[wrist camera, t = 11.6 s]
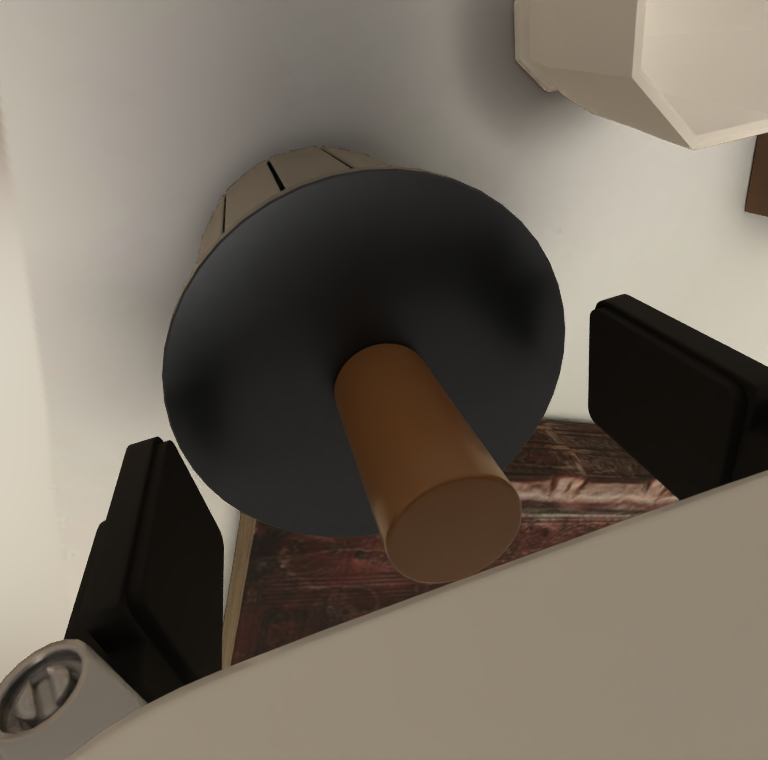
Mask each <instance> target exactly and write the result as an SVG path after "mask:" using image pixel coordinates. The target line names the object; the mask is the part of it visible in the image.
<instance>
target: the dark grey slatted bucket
mask: <svg viewBox="0 0 768 760" xmlns="http://www.w3.org/2000/svg"><path fill="white" fill-rule="evenodd" d="M378 166H392V165H389V164H387V163H385V162H383V161H381V160H379V159H376V158H374V157H371V156H369V155H367V154H362V153H356V152H352V151H348V150H345V149H338V148H330V147H325V146H322V147H316V146H315V147H311V148H303V149H297V150H292V151H289V152H286V153H282V154H279V155H276V156H274V157H271V158H269V159H268V160H266V161H263V162H262V163H260V164H258V165H257V166H255V167H254V168H252V169H251V170H249V171H248V172H247V173H245V174H244V175H243V176H242V177H241V178H240V179H239V180H238V181H236V182H235V183H234V184H233V185H232V186H231V187H230V188H229V189H228V190H227V191H226V194H225V195H223V196H222V198H221V200H220V202H219V204H218V206H217V207H216V209H215V211H214V212H213V214H212V217H211V219H210V222H209V224H208V226H207V228H206V230H205V232H204V234H203V236H202V240H201V244H200V249H199V255H198V260H197V264H198V262H199V261H200V259H201V258H202V257H203V256H204V255H205V253H206V252H207V251H208V250H209V248H210V247H211V246H212V245H213V244H214V242H215V241H216V240H217V239H218V237H219V236H221V235H222V234H223V233H224V232H225V231H226V230H227V229H228V228H229V227H230V226H231V225H233V224H234V223H235V222H236V221H237V220H238V219H239V218H240V217H241V216H242V215H244V214H245V213H247V212H248V211H250V210H251V209H253V208H254V207H256V206H257V205H259V204H260V203H261V202H263V201H264V200H266V199H267V198H269V197H271V196H273V195H275V194H277V193H279V192H281V191H283V190H285V189H287V188H289V187H291V186H293V185H295V184H297V183H299V182H302V181H305V180H309V179H312V178H315V177H318V176H321V175H324V174H327V173H331V172H336V171H341V170H347V169H352V168H358V167H378Z"/></svg>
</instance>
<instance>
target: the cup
mask: <svg viewBox="0 0 768 760" xmlns="http://www.w3.org/2000/svg"><path fill="white" fill-rule="evenodd" d="M514 29H515V60H516V61H517V62H518V63H519V64H520V66H521V67H522V68H523V69H524V70H525V71H526V72H527V73H528V74H529V75H530V76H531V77H532V78H533V79H534V80H535V81H536V82H537V83H538V84H539V85H540V86H541V87H542V88H543V89H544V90H545V91H546V92H552V91H557V90H559V91H560V92H561V93H562V95H564V96H565V97H567V98H569V99H570V100H572V101H573V102H575V103H576V104H578V105H580V106H581V107H583V108H584V109H586V110H588V111H589V112H591V113H592V114H595V115H598V116H601V117H604V118H607V119H610V120H613V121H615V122H618V123H621V124H624V125H627V126H630V127H633V128H636V129H638V130H641V131H643V132H646V133H648V134H651V135H653V136H656V137H658V138H661V139H663V140H666V141H669V142H672V143H674V144H677V145H680V146H683V147H686V148H688V149H691V150H696V149H700V148H704V147H708V146H713V145H717V144H721V143H725V142H729V141H734V140H738V139H742V138H746V137H750V136H755V135H759V134H763V133H767V132H768V0H515V1H514Z"/></svg>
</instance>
